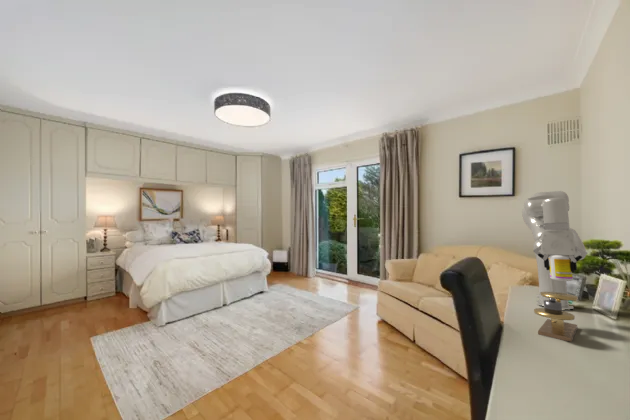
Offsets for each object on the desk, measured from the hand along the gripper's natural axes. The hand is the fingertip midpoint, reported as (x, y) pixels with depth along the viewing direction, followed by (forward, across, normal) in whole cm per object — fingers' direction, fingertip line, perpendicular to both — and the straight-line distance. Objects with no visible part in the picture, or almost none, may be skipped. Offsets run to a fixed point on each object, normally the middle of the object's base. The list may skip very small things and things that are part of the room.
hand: (560, 270), depth 101 cm
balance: (+19, 0, -19) cm, 27 cm away
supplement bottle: (+4, 0, 0) cm, 4 cm away
